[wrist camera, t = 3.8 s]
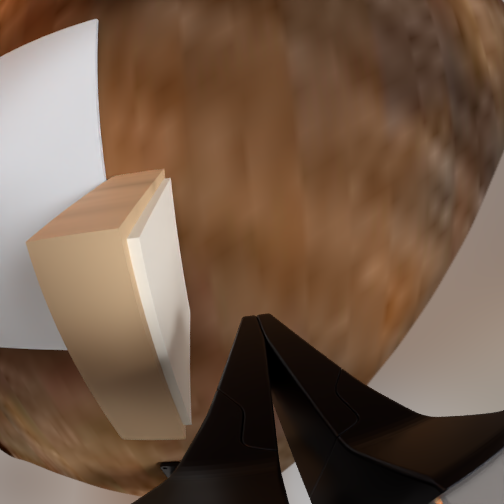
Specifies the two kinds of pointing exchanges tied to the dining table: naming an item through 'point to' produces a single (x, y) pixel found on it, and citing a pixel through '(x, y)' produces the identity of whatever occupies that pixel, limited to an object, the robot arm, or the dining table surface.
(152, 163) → the dining table surface
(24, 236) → the mat
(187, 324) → the tile
